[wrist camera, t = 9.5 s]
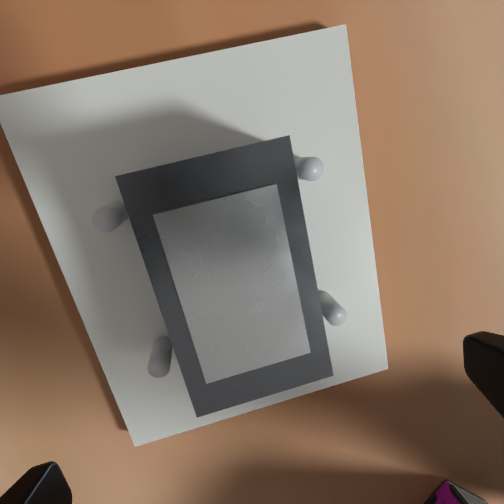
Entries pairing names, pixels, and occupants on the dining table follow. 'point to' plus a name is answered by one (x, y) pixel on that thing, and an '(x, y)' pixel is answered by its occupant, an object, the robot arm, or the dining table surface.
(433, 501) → the candy bar box
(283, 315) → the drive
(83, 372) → the dining table surface
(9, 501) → the robot arm
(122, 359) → the tray
